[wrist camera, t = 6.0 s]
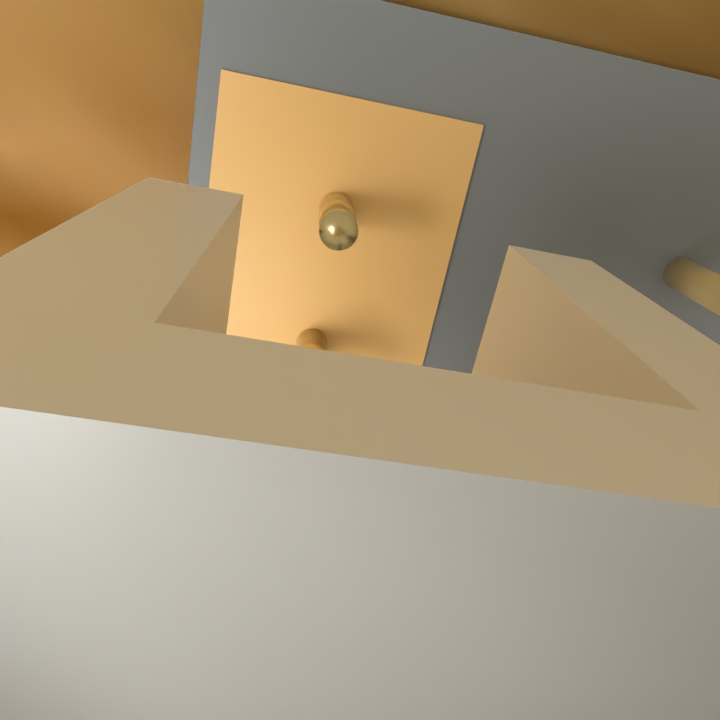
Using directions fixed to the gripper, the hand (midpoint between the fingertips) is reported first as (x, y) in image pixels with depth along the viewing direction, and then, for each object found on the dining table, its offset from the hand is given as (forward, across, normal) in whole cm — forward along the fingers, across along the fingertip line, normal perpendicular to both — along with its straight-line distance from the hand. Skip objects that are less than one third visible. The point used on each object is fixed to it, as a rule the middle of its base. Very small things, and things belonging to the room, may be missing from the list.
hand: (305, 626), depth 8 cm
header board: (+10, -4, 0) cm, 11 cm away
